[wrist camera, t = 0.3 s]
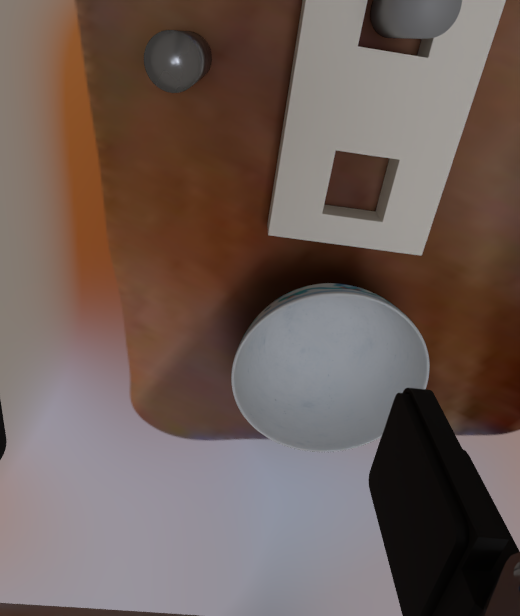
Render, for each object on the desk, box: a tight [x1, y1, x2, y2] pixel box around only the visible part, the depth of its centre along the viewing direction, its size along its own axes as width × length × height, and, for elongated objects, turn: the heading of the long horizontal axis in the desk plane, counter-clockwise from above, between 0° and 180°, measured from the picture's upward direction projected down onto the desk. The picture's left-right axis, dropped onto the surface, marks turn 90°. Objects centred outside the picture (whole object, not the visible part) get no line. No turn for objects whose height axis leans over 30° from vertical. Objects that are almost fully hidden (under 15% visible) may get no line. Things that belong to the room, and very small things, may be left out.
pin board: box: [267, 0, 506, 256], centre depth 31 cm, size 20×12×8 cm, turn 172°
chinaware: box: [231, 283, 429, 452], centre depth 40 cm, size 15×15×8 cm
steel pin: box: [144, 30, 212, 93], centre depth 29 cm, size 3×3×8 cm
